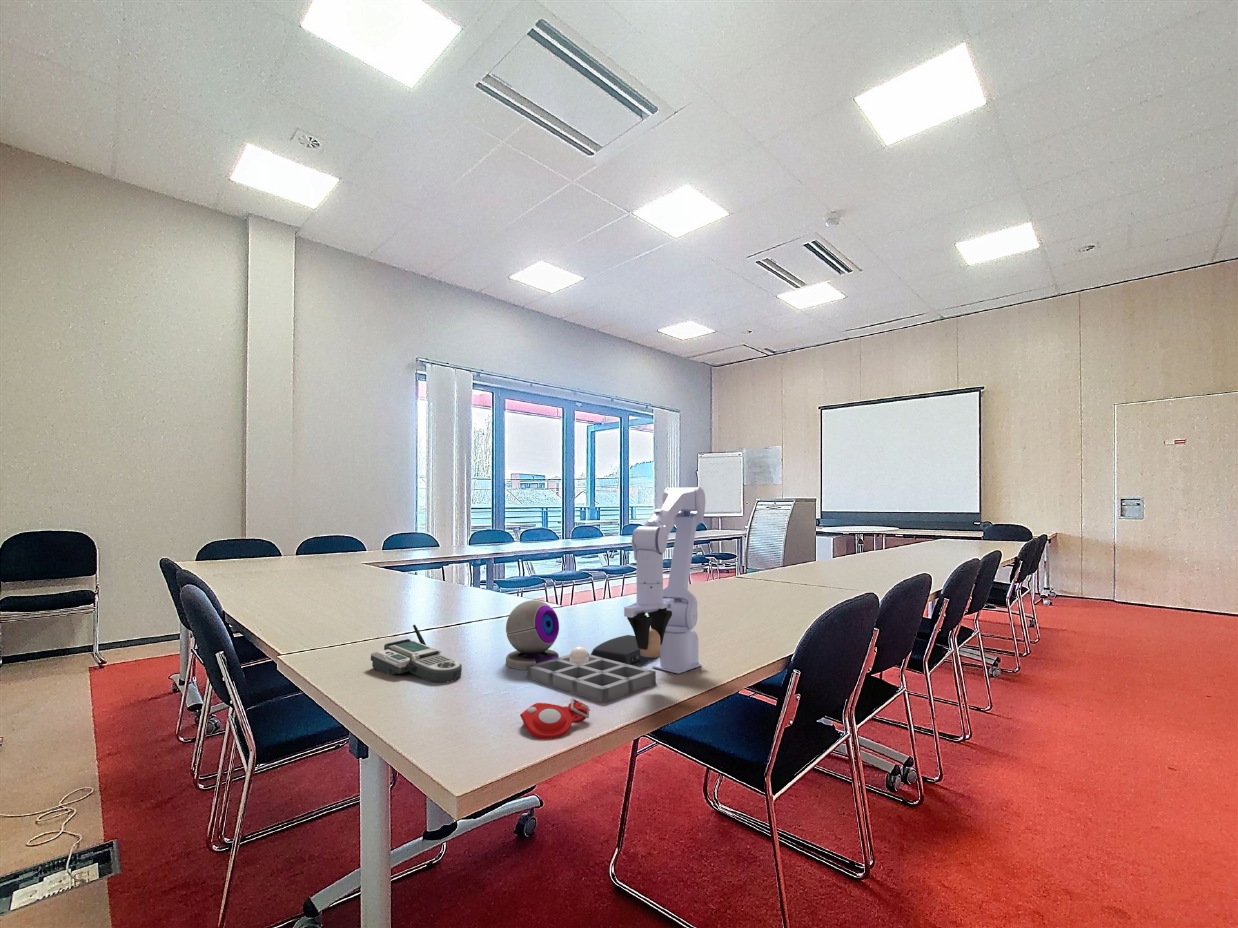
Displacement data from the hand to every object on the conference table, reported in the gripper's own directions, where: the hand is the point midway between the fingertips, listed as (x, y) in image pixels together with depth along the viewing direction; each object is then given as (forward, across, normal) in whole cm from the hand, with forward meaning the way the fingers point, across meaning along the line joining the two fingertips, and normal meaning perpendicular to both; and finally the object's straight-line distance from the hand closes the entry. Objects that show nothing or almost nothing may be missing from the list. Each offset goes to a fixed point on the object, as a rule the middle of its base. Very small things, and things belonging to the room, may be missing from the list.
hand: (650, 646), depth 124 cm
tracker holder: (+9, -28, -1) cm, 29 cm away
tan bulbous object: (+2, 0, 0) cm, 2 cm away
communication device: (+9, -27, +47) cm, 55 cm away
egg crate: (+9, -5, +13) cm, 16 cm away
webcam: (+9, -4, +34) cm, 35 cm away
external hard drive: (+9, +15, +19) cm, 26 cm away
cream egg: (+9, -1, +20) cm, 22 cm away
